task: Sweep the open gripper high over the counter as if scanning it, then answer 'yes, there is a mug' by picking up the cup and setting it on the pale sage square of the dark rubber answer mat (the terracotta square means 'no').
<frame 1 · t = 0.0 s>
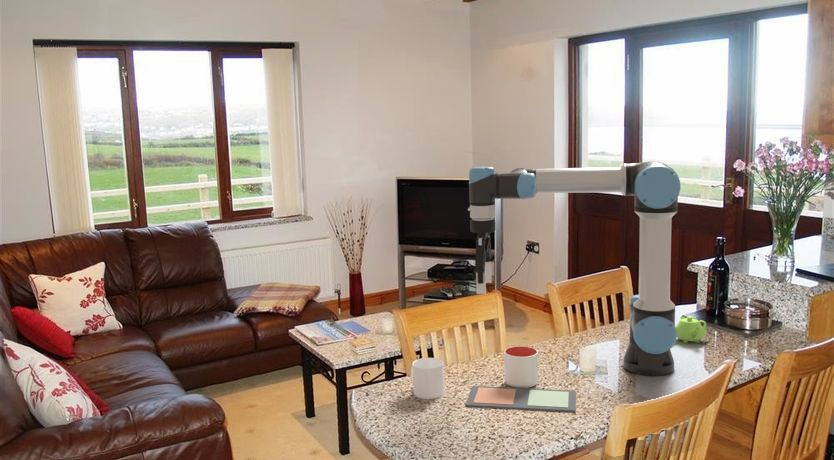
hand: (484, 288, 221), 28 cm above the table, fingers open, 13 cm apart
answer mat: (521, 399, 207), on the table
teapot: (686, 341, 251), on the table
mug: (426, 392, 215), on the table
cup: (521, 384, 219), on the table
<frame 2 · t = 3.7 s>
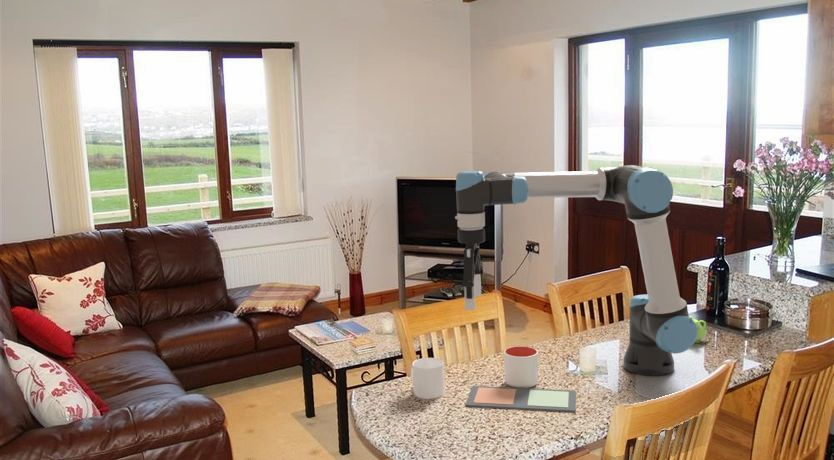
hand: (473, 302, 204), 28 cm above the table, fingers open, 13 cm apart
nothing on the table moved.
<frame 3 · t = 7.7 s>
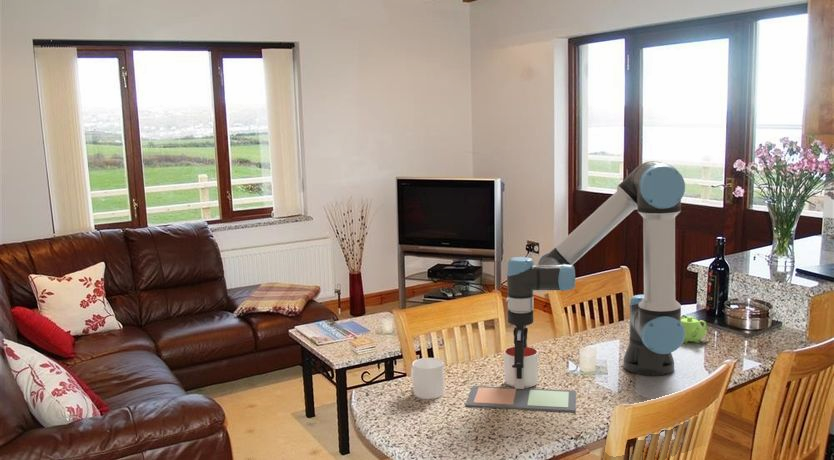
hand: (521, 381, 218), 1 cm above the table, fingers open, 11 cm apart
cup: (521, 384, 219), on the table, touching answer mat, gripper
everything else where it was.
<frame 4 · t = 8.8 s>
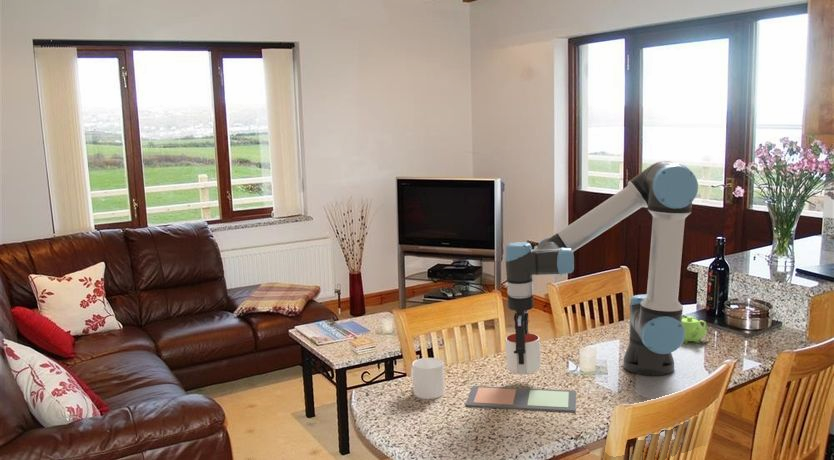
hand: (523, 367, 218), 5 cm above the table, fingers closed on cup, 10 cm apart
cup: (523, 370, 218), point 4 cm above the table, touching gripper
everything else where it was.
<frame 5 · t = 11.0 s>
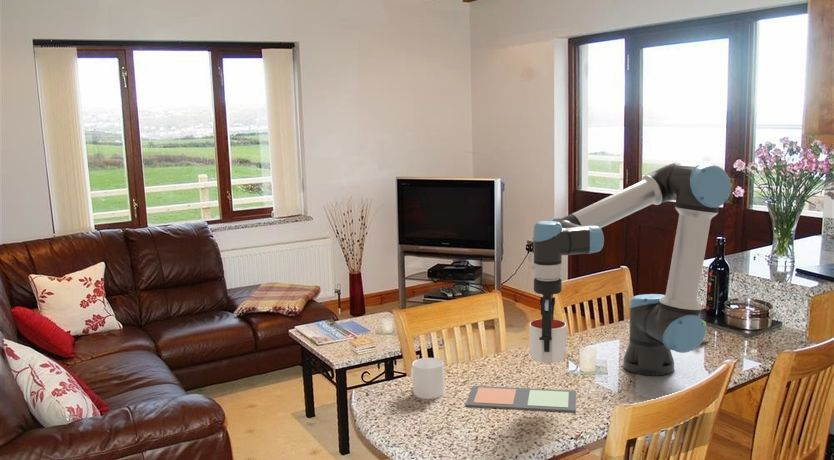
hand: (547, 355, 203), 13 cm above the table, fingers closed on cup, 10 cm apart
cup: (547, 359, 203), point 12 cm above the table, touching gripper
everything else where it was.
when the fingers open (2 cm above the table, at t = 13.4 s): cup stays where it is, resting on answer mat.
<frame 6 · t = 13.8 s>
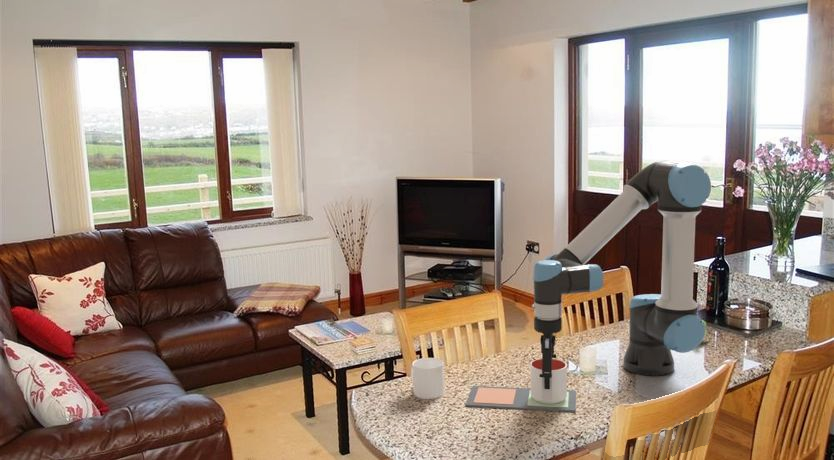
hand: (548, 389, 205), 3 cm above the table, fingers open, 13 cm apart
cup: (548, 398, 205), resting on answer mat
everything else where it was.
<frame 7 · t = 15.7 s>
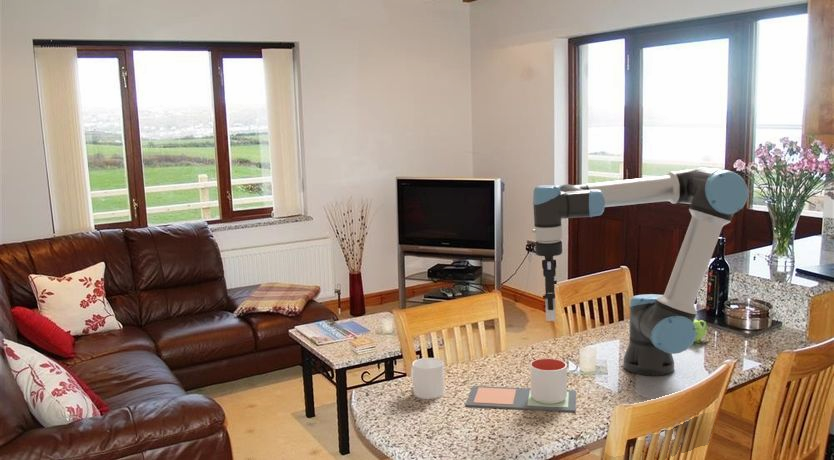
hand: (550, 313, 208), 23 cm above the table, fingers open, 13 cm apart
nothing on the table moved.
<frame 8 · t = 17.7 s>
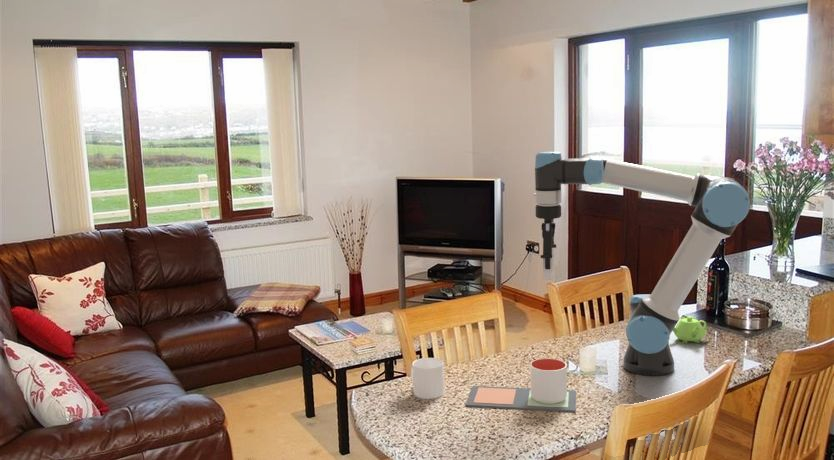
hand: (548, 274, 219), 32 cm above the table, fingers open, 13 cm apart
nothing on the table moved.
at the end: cup inside the target area on the answer mat (0.1 cm from its centre), point 0.4 cm above the answer mat's base; cup tilted 0°; the gripper is holding nothing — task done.
